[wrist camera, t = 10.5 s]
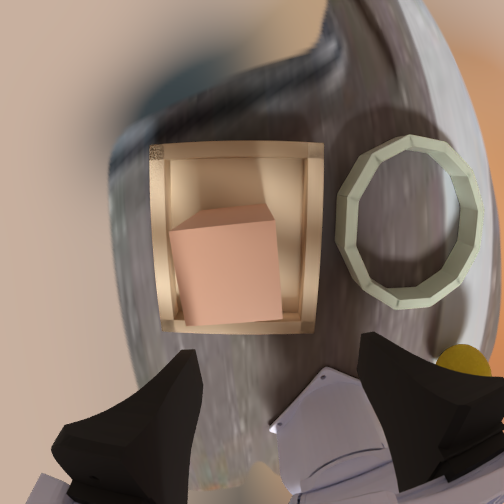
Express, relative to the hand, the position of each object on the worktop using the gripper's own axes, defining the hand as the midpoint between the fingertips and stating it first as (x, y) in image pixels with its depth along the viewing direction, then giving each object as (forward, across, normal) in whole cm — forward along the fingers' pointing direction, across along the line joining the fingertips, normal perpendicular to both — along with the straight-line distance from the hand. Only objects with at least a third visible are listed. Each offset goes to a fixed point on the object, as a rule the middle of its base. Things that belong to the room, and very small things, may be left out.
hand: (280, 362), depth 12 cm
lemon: (+10, -18, +10) cm, 23 cm away
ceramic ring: (+10, -12, -4) cm, 16 cm away
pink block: (+10, +2, -3) cm, 10 cm away
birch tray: (+10, +2, -3) cm, 11 cm away
